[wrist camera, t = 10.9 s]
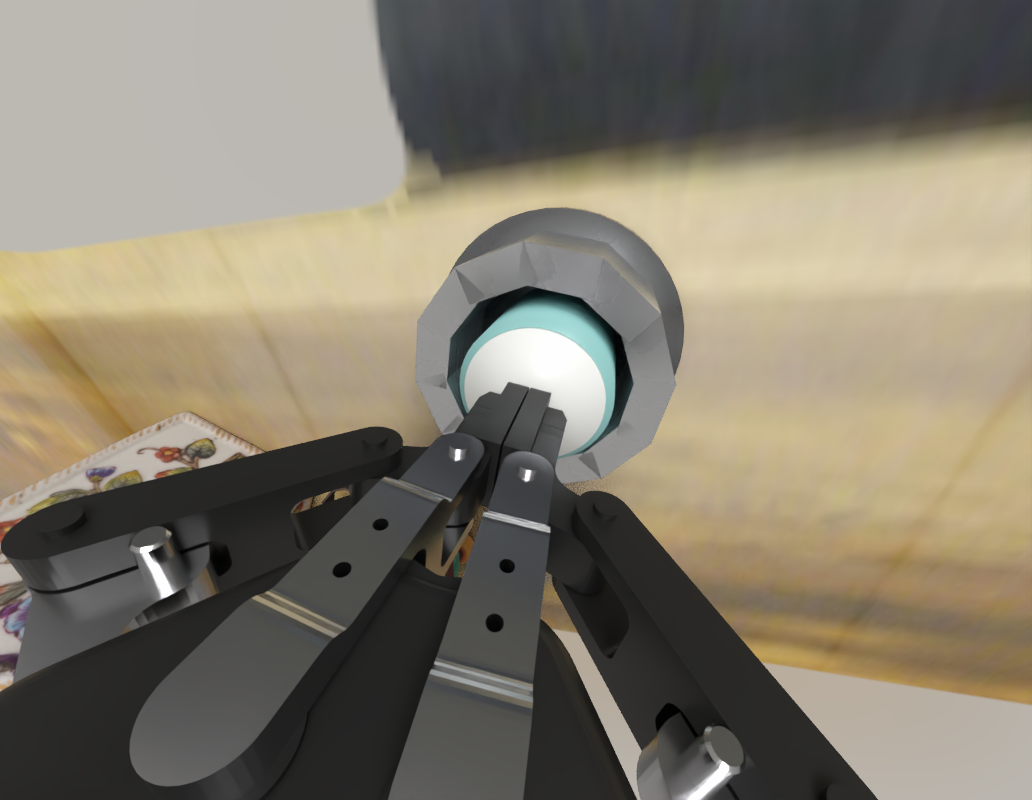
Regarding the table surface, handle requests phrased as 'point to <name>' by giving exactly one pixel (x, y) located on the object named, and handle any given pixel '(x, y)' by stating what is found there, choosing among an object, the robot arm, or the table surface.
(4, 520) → the decorative jar
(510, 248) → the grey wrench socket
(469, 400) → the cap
